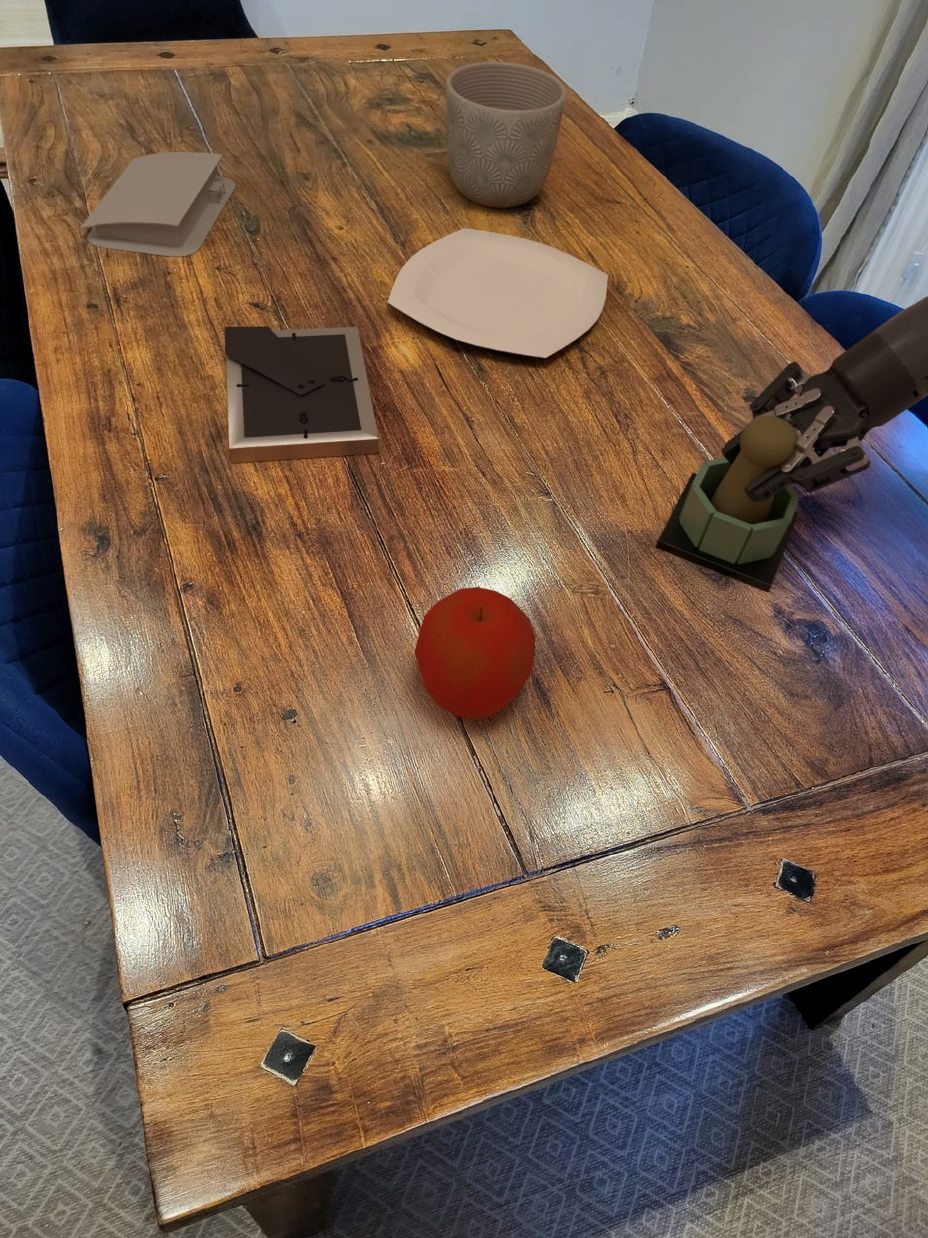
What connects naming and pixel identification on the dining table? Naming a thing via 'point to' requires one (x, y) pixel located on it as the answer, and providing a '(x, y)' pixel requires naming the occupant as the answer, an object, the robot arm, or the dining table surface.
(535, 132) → the planter
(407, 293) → the plate
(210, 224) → the book
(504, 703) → the apple
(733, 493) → the cork
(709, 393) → the dining table surface
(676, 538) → the cup holder
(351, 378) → the face-down photo frame
